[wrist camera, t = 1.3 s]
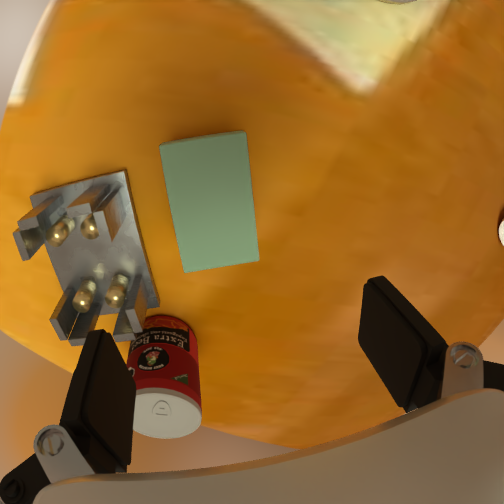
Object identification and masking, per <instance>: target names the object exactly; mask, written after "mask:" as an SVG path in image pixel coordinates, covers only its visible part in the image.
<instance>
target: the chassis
mask: <svg viewBox="0 0 504 504" xmlns="http://www.w3.org/2000/svg"><path fill="white" fill-rule="evenodd" d="M30 199H31V202H32V206H33V209H32V210H31V211H30V212H28V213H27V214H26V215H25V216H23V217H22V218H21V219H20V220H19V221H17V223H18V226H19V228H18V229H17V230H15V231H14V232H13V236H14V239H15V242H16V244H17V247H18V250H19V252H20V255H21V258H22V260H23V261H25V260H29V259H30V258H31V257H32V256H33V255H34V254H35V253H36V251H37V250H38V249H39V248H40V247H41V246H42V245H43V244H44V243H45V246H46V249H47V252H48V254H49V257H50V260H51V262H52V265H53V267H54V270H55V273H56V275H57V277H58V280H59V282H60V285H61V287H62V289H63V292H64V293H63V295H62V297H61V299H60V301H59V302H58V304H57V306H56V308H55V310H54V312H53V314H52V316H51V317H50V319H49V320H50V322H51V324H52V326H53V327H54V329H55V331H56V333H57V335H58V337H59V339H60V340H67V339H68V337H69V339H68V341H69V342H70V344H71V346H80V345H84V343H85V340H86V337H87V334H88V332H89V331H93V330H94V329H95V326H96V323H97V320H98V317H99V315H105V314H113V313H119V314H118V318H117V321H116V325H115V329H114V332H113V337H114V339H115V342H121V341H130V340H136V337H137V333H138V332H143V328H144V322H145V316H146V310H147V309H149V308H156V307H160V299H159V296H158V292H157V289H156V286H155V282H154V279H153V276H152V272H151V269H150V265H149V261H148V258H147V254H146V250H145V247H144V243H143V239H142V235H141V231H140V227H139V223H138V219H137V215H136V211H135V207H134V202H133V198H132V193H131V189H130V184H129V179H128V175H127V170H126V169H125V170H121V171H116V172H112V173H108V174H103V175H99V176H95V177H91V178H87V179H83V180H80V181H76V182H72V183H68V184H65V185H61V186H58V187H54V188H51V189H47V190H44V191H41V192H37V193H34V194H33V195H31V196H30ZM76 318H77V320H76ZM75 320H76V322H75ZM74 322H75V324H74ZM73 325H74V327H73ZM72 327H73V329H72ZM71 330H72V332H71ZM70 332H71V334H70ZM69 334H70V336H69Z"/></svg>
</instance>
